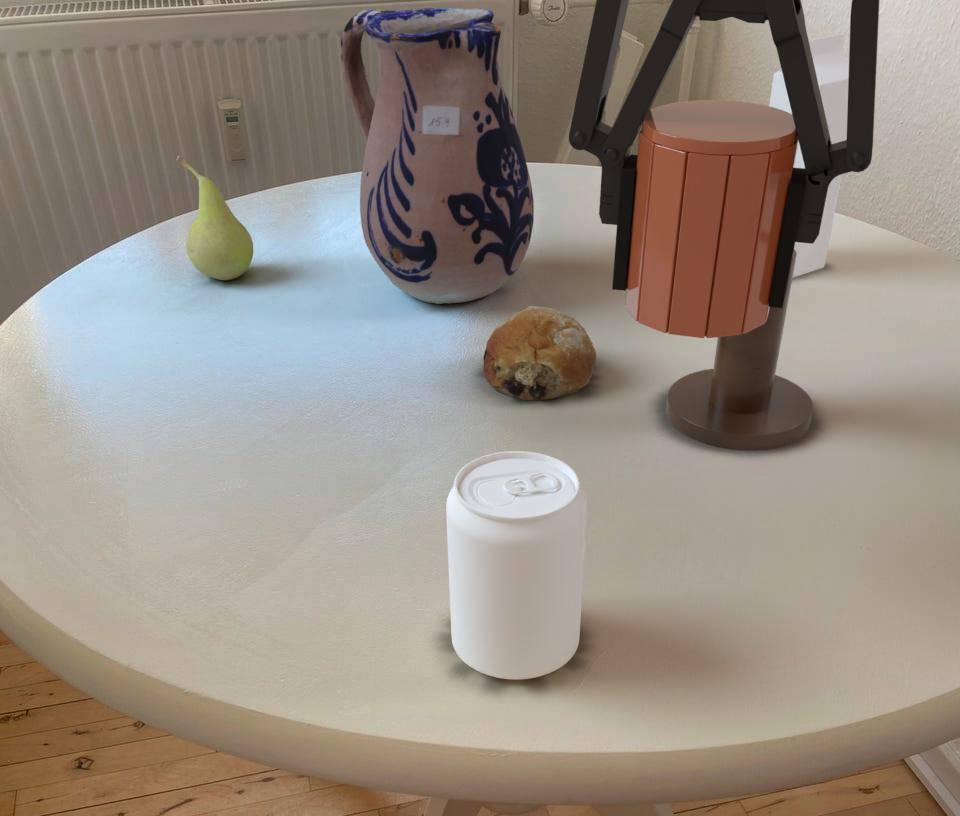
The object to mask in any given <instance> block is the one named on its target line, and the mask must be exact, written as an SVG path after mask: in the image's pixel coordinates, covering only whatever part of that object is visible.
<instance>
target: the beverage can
mask: <svg viewBox="0 0 960 816" xmlns="http://www.w3.org/2000/svg"><path fill="white" fill-rule="evenodd" d="M448 493H449V494H447V495H448V496H447V499H446V503H445V505H446V506H445V515H446V539H447V563H448V584H449V585H448V586H449V607H450V608H449V609H450V611H449V612H450V633H451V644H452V647H453V649H454V652H455V653H456V654H457V656H458V657H459V658H460V659H461V661H462V662H464V663H465V664H466V665H467V666H468V667H470V668H471V669H473V670H474V671H477V672H478V673H481V674H484V675H485V676H490V677H493V678H497V679H502V680H504V679H505V680H529V679H534V678H539V677H542V676H545V675H548V674H551V673H552V672H553V673H554V672H555V671H557V670H559V669H561V668H562V667H563V666H565V665H566V664H567V663H568V662H569V661H570V660H571V659H572V658H573V657H574V655H575V654H576V652H577V650H578V648H579V644H580V638H581V637H580V636H581V635H580V634H581V620H582V619H581V618H582V604H583V602H582V601H583V584H584V571H585V570H584V569H585V551H586V537H587V536H586V535H587V519H588V501H587V497H586V495H585V492H584V490H583V488H582V487H581V483H580V478H579V476H578V475H577V473H576V471H575V470H574V469H573V468H572V467H571V466H570V465H568V464H567V463H566V462H564V461H562V460H561V459H558V458H555V457H554V456H551V455H548V454H544V453H539V452H535V451H524V450H509V451H500V452H494V453H490V454H486V455H483V456H480V457H477V458H475V459H472V460H471V461H469V462H468V463H466V464H465V465H464V466H463V467H461V469H459V471H458V472H457V474H456V476H455V478H454V481H453V485H452V487H451V489H450V491H449V492H448Z"/></svg>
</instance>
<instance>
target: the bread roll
mask: <svg viewBox="0 0 960 816" xmlns="http://www.w3.org/2000/svg"><path fill="white" fill-rule="evenodd" d="M596 362H597V352H596V349H595V347H594V343H593V342H592V340H591V338H590V336H589V334H588V333H587V331H586V330H585V328H584V327H583V325H582V324H581V323H579V321H577V320H576V319H575V318H574V317H573V316H571V315H570V314H568V313H567V312H564V311H562V310H560V309H558V308H557V309H556V308H553V307H546V306H538V305H528V306H527V307H525V308H524V309H523V310H519V311H518V312H516V313H514V314H512V315H511V316H509V317H508V318H507V319H506V320H504V322H503V323H502V324H500V325H498V326H497V327H495V328H494V330H493V331H492V333H491V335H490V336H489V338H488V340H487V341H486V346H485V350H484V354H483V374H484V377H485V379H486V382H487V383H488V384H489V385H490V386H491V388H493V390H495V391H496V392H498V393H500V394H504V395H506V396H509V397H510V398H513V399H518V400H521V401H541V400H542V401H543V400H544V401H545V400H554V399H558V398H561V397H566V396H571V395H575V394H577V393H578V392H579V390H582V389H583V388H585V387H586V386H587V385H588V384H589V383H590V380H591V379H592V376H593V373H594V369H595V366H596Z"/></svg>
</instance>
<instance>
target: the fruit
mask: <svg viewBox="0 0 960 816" xmlns="http://www.w3.org/2000/svg"><path fill="white" fill-rule="evenodd" d="M176 162H177V163H179V164H180V165H182V166H183V167H185V169H187V170H189V171H190V172H191V173H192V174H193V176H195V177H196V179H197V181H198V212H197V215H196V217H195V219H194V221H193V222H192V224H191V225H190V227H189V229H188V232H187V235H186V239H185V240H186V242H185V243H186V244H185V248H186V254H187V256H188V258H189V260H190V262H191V264H192V265H193V266H194V267H195V269H196V270H197V271H198V272H200V273H201V274H203V275H205V276H207V277H209V278H212V279H216V280H219V281H231V280H235V279H237V278H239V277H241V276H242V275H244V274H245V272H246V271H248V269H249V268H250V265H251V263H252V260H253V257H254V242H253V239H252V236H251V234H250V232H249V231H248V229H247V228H246V227H245V226H244V224H243V223H241V222H240V220H239V219H238V218H237V217H236V215H234V213H233V212H232V210H231V209H230V207H229V205H228V203H227V201H226V200H225V198H224V197H223V194H222V193H221V191H220V190H219V188H218V187H217V185H216V184H215V182H213V180H211V179H210V178H208V177H206V176H204V175H201V174H200V173H199V172H197V170H196V169H194V168H193V167H192V166H191V165H190V164H189V163H188V162H187V161H186V160H185V159H183V157H182V156H180V155H177V158H176Z"/></svg>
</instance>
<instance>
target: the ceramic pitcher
mask: <svg viewBox="0 0 960 816" xmlns="http://www.w3.org/2000/svg"><path fill="white" fill-rule="evenodd" d="M494 17H495V14H494V11H491V10H490V9H488V8H484V7H479V8H457V7H456V8H454V7H451V6H447V7H446V6H445V7H429V8H428V7H423V8H419V9H404V10H400V11H396V10H381V9H379V8H376V9H363V10H362V11H361V10H360V12H358V13H356V14H355V15H353V16H351V17H350V19H349V21H348V22H347V23H346V25H345V26H344V29H343V31H342V33H341V39H340V59H341V60H340V61H341V66H342V72H343V75H344V79H345V83H346V87H347V88H346V89H347V92H348V95H349V97H350V98H349V99H350V101H351V103H352V106H353V109H354V113H355V115H356V116H355V117H356V118H357V121H358V123H359V126H360V129H361V132H362V135H363V137H364V139H365V141H366V145H365V149H364V155H363V156H364V157H363V162H362V163H363V164H362V170H361V177H360V191H359V212H360V213H359V214H360V224H361V230H362V234H363V239H364V243H365V245H366V247H367V248H368V251H369V253H370V254H371V256H372V258H373V260H374V261H375V263H376V264H377V265H378V267H379V268H380V270H381V271H382V273H384V275H385V276H386V277H387V279H389V281H390V282H391V283H392V285H394V286H395V287H396V288H398V289H399V290H400V291H402V292H403V293H406V294H407V295H409V296H410V297H412V298H414V299H417V300H419V301H422V302H424V303H428V304H437V305H443V304H460V303H461V304H463V303H467V302H472V301H476V300H478V299H482V298H485V297H487V296H489V295H491V294H493V293H494V292H496V291H497V290H498V289H500V288H502V286H504V285H505V284H506V283H507V282H508V281H509V280H510V279H511V278H512V277H513V275H515V273H516V272H517V271H518V270H519V269H520V266H521V264H522V263H523V261H524V259H525V257H526V254H527V251H528V250H529V246H530V244H531V239H532V234H533V233H532V232H533V227H534V219H535V217H534V215H535V211H534V210H535V205H534V203H535V202H534V201H535V200H534V194H533V187H532V182H531V177H530V172H529V167H528V164H527V161H526V157H525V153H524V148H523V145H522V141H521V137H520V134H519V131H518V128H517V125H516V121H515V117H514V114H513V110H512V107H511V104H510V102H509V99H508V97H507V94H506V91H505V89H504V86H503V82H502V79H501V74H500V68H499V65H498V64H499V61H498V53H499V44H500V40H501V35H502V31H501V28H500V27H499V25H498V24H496V23H494V22H493V19H494ZM365 32H366V34H367V35H368V36H369V37H370V38H371V41H372V42H373V43H374V44H375V45H376V47H377V49H378V52H379V56H380V77H379V84H378V88H377V92H376V99H375V100H374V97H373V95H372V94H371V89H370V88H371V87H370V85H369V81H368V75H367V73H366V68H365V64H364V61H363V53H362V52H363V51H362V41H363V35H364V33H365Z"/></svg>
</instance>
